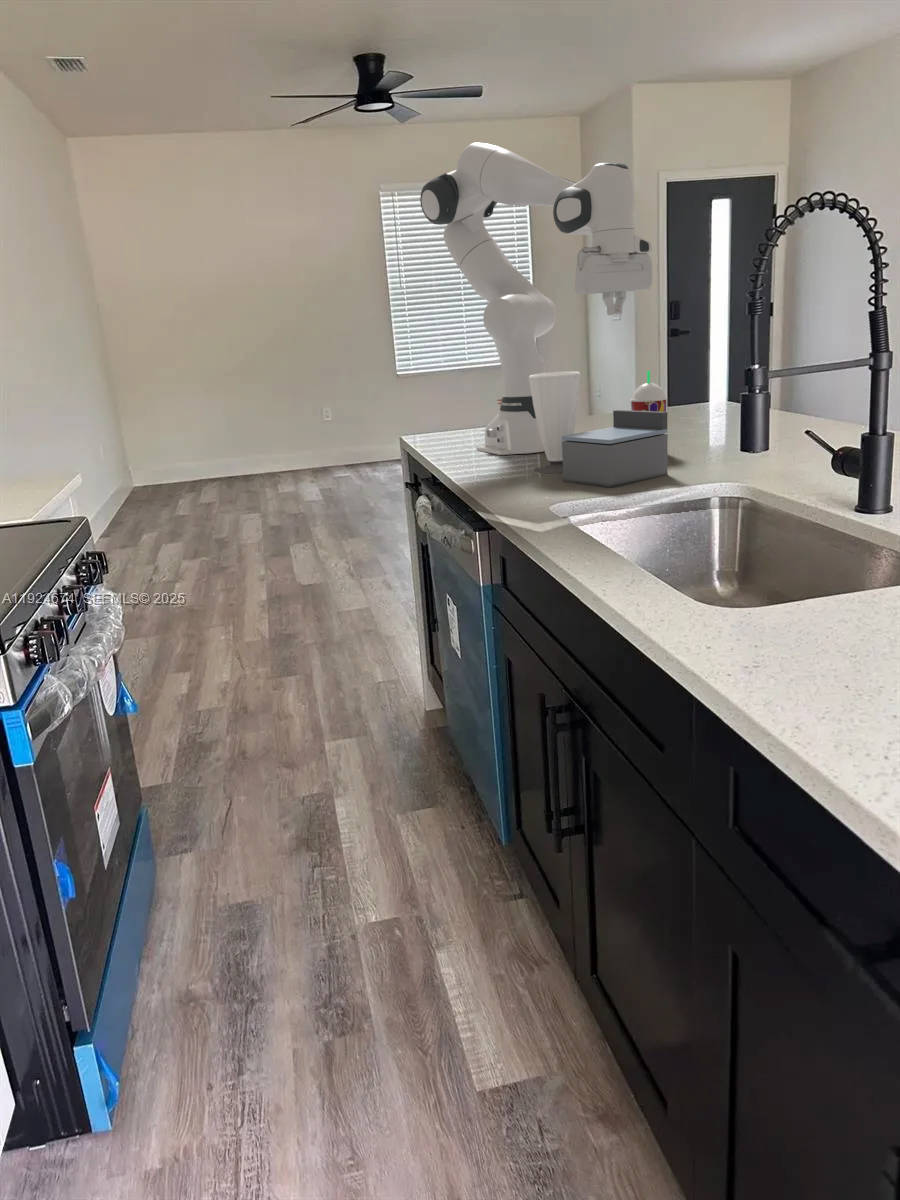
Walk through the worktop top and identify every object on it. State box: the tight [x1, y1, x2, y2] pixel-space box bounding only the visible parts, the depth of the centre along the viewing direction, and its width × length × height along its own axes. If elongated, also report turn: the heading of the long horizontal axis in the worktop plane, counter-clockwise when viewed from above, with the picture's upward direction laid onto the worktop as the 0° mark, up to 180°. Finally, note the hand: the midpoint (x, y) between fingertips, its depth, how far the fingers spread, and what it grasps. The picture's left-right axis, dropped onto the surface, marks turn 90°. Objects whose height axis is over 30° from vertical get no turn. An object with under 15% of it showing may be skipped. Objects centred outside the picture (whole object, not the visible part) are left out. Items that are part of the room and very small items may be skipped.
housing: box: [562, 433, 669, 489], centre depth 184 cm, size 14×17×8 cm
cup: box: [529, 370, 581, 475], centre depth 197 cm, size 12×12×22 cm
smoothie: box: [630, 370, 668, 434], centre depth 206 cm, size 8×8×20 cm
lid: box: [562, 409, 668, 444], centre depth 182 cm, size 14×17×4 cm
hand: (614, 314), depth 187 cm, fingers closed
